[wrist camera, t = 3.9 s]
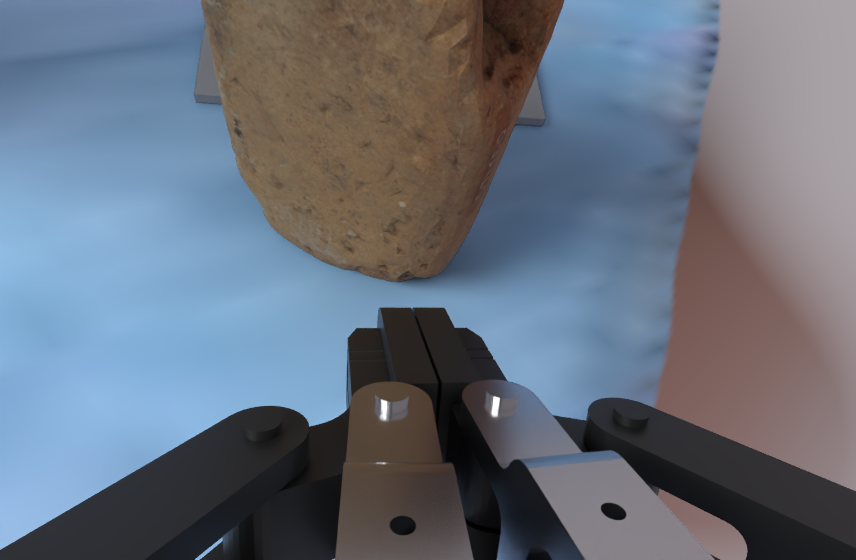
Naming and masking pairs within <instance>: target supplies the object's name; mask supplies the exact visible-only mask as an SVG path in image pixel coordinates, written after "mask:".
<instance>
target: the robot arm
mask: <svg viewBox="0 0 856 560" xmlns="http://www.w3.org/2000/svg"><path fill="white" fill-rule="evenodd" d="M346 404H347V410H346V411H345V412H344V413H343V414H342V415H340V416H339V417H337V418H335V419H333V420H331V421H328V422H326V423H322V424H319V425H315V426H310V427H309V423H308V421H307V419H306V418H305V417H304V416H303V415H301V414H300V413H299V412H297V411H295V410H292V409H289V408H285V407H279V406H260V407H254V408H249V409H245V410H242V411H239V412H237V413H235V414H233V415H231V416H229V417H227V418H225V419H224V420H222V421H220V422H219V423H217V424H215V425H213V426H212V427H210V428H208V429H207V430H205V431H203V432H201V433H200V434H198V435H196V436H195V437H193V438H191V439H189V440H188V441H186V442H184V443H183V444H181V445H179V446H178V447H176V448H174V449H172V450H171V451H169V452H167V453H166V454H164V455H162V456H160V457H159V458H157V459H155V460H154V461H152V462H150V463H148V464H147V465H145V466H143V467H142V468H140V469H138V470H136V471H135V472H133V473H131V474H130V475H128V476H126V477H124V478H123V479H121V480H119V481H118V482H116V483H114V484H112V485H111V486H109V487H107V488H106V489H104V490H102V491H100V492H99V493H97V494H95V495H94V496H92V497H90V498H88V499H87V500H85V501H83V502H82V503H80V504H78V505H76V506H75V507H73V508H71V509H70V510H68V511H66V512H65V513H63V514H61V515H59V516H58V517H56V518H54V519H53V520H51V521H49V522H47V523H46V524H44V525H42V526H41V527H39V528H37V529H35V530H34V531H32V532H30V533H29V534H27V535H25V536H23V537H22V538H20V539H18V540H17V541H15V542H13V543H11V544H10V545H8V546H6V547H5V548H3V549H1V550H0V560H195V559H196V558H197V557H198V556H199V555H200V554H202V553H203V552H204V551H205V550H207V549H208V548H209V547H210V546H212V545H213V544H214V543H215V542H217V541H218V540H219V539H220V538H222V537H223V541H222V542H221V543H220V544H219V545H217V546H216V547H215V548H214V549H213V550H211V551H210V552H209V553H208V554H206V555H205V556H204V557H203V558H202V559H200V560H332V559H334V558H335V560H720V559H718V558H716V557H714V556H712V555H711V554H709V553H708V552H707V551H706V550H705V548H704V547H703V546H702V545H701V544H700V543H699V542H698V541H697V539H696V538H695V537H694V536H693V535H692V534H691V533H690V532H689V531H688V530H687V528H686V527H685V526H684V525H683V524H682V523H681V522H680V521H679V520H678V518H677V517H676V516H675V515H674V514H673V513H672V512H671V511H670V510H669V508H668V507H667V506H666V505H665V504H664V503H663V502H662V501H661V500H660V498H658V492H659V488H660V489H662V490H664V491H666V492H668V493H670V494H672V495H674V496H676V497H678V498H680V499H682V500H684V501H686V502H688V503H690V504H692V505H694V506H696V507H698V508H700V509H702V510H704V511H706V512H708V513H710V514H712V515H714V516H716V517H718V518H720V519H722V520H724V521H726V522H727V523H729V524H731V525H732V526H734V527H735V528H736V529H737V530H738V531H739V532H740V533H741V535H742V536H743V538H744V539H745V542H746V544H747V549H748V553H747V557H746V560H856V491H853V490H851V489H849V488H846V487H844V486H841V485H839V484H837V483H834V482H831V481H829V480H827V479H825V478H822V477H820V476H817V475H815V474H812V473H810V472H807V471H805V470H802V469H800V468H798V467H795V466H793V465H791V464H788V463H786V462H783V461H781V460H779V459H776V458H774V457H771V456H769V455H766V454H764V453H762V452H759V451H757V450H754V449H752V448H749V447H747V446H744V445H742V444H740V443H737V442H735V441H733V440H730V439H727V438H725V437H723V436H720V435H718V434H716V433H713V432H710V431H708V430H706V429H703V428H701V427H699V426H696V425H694V424H691V423H689V422H686V421H684V420H681V419H679V418H677V417H674V416H672V415H670V414H667V413H664V412H662V411H660V410H657V409H655V408H653V407H650V406H648V405H645V404H643V403H640V402H637V401H633V400H629V399H623V398H603V399H599V400H596V401H594V402H593V403H592V404H591V405H590V406H589V408H588V414H587V419H586V421H585V420H578V419H572V418H566V417H559V416H554V415H552V414H551V413H550V412H549V411H548V409H547V408H546V407H545V406H544V404H543V403H542V402H541V401H540V399H539V398H538V397H537V396H536V395H535V394H534V393H533V392H532V391H531V390H529V389H527V388H526V387H524V386H521V385H519V384H516V383H513V382H509V381H507V380H506V378H505V376H504V375H503V373H502V371H501V370H500V368H499V366H498V365H497V363H496V361H495V360H493V356H492V355H491V353H490V351H488V348H487V346H486V345H485V343H484V341H483V340H482V338H481V337H480V336H478V335H477V334H475V333H474V332H472V331H471V330H469V329H468V328H454V326H453V324H452V322H451V320H450V318H449V316H448V314H447V312H446V310H445V308H412V309H411V308H379V311H378V323H377V328H356V330H355V331H354V332H353V333H352V334H351V335H350V336H349V337H348V349H347V388H346Z"/></svg>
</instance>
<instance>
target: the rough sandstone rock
mask: <svg viewBox="0 0 856 560" xmlns="http://www.w3.org/2000/svg"><path fill="white" fill-rule="evenodd" d="M563 3H564V0H201V4H202V9H203V14H204V19H205V24H206V29H207V33H208V37H209V42H210V46H211V50H212V56H213V62H214V68H215V74H216V79H217V83H218V87H219V91H220V96H221V101H222V106H223V110H224V115H225V119H226V123H227V127H228V130H229V133H230V136H231V143H232V147H233V150H234V152H235V155H236V161H237V166H238V169H239V171H240V174H241V176H242V178H243V180H244V181H245V183H246V184H247V186H248V187H249V189H250V190H251V191H252V193H253V194H254V195H255V196H256V198H257V199H258V201H259V202H260V204H261V206H262V207H263V209H264V215H265V217H266V219H267V221H268V222H269V224H270V225H271V226H272V227H273V228H274V229H275V230H276V231H277V232H278V233H279V234H280V235H282V236H283V237H284V238H285V239H287V240H288V241H290V242H291V243H293V244H294V245H296V246H298V247H299V248H301V249H302V250H304V251H306V252H307V253H309V254H311V255H312V256H314V257H316V258H317V259H319V260H321V261H323V262H325V263H327V264H330V265H333V266H336V267H339V268H341V269H344V270H358V271H359V272H361V273H363V274H364V275H367V276H370V277H373V278H378V279H384V280H387V281H393V282H401V281H405V280H408V279H411V278H414V277H420V278H431V277H433V276H435V275H438V274H440V273H441V272H442V271H443V270H444V269H445V268H446V266H447V265H448V264H449V262H450V261H451V260H452V259H453V257H454V256H455V255H456V253H457V251H458V250H459V248H460V246H461V245H462V243H463V241H464V240H465V238H466V236H467V234H468V233H469V231H470V229H471V227H472V224H473V222H474V220H475V218H476V216H477V214H478V212H479V210H480V206H481V205H482V202H483V200H484V198H485V196H486V194H487V192H488V189H489V187H490V184H491V182H492V179H493V177H494V174H495V172H496V169H497V167H498V165H499V163H500V160H501V158H502V156H503V154H504V151H505V149H506V146H507V143H508V141H509V138H510V135H511V133H512V130H513V128H514V126H515V123H516V121H517V119H518V116H519V114H520V112H521V110H522V108H523V106H524V103H525V100H526V98H527V95H528V93H529V90H530V88H531V86H532V84H533V81H534V79H535V76H536V73H537V70H538V67H539V64H540V62H541V60H542V57H543V55H544V53H545V50H546V48H547V46H548V44H549V41H550V39H551V37H552V34H553V31H554V27H555V25H556V22H557V20H558V17H559V14H560V12H561V9H562V7H563Z"/></svg>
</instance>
